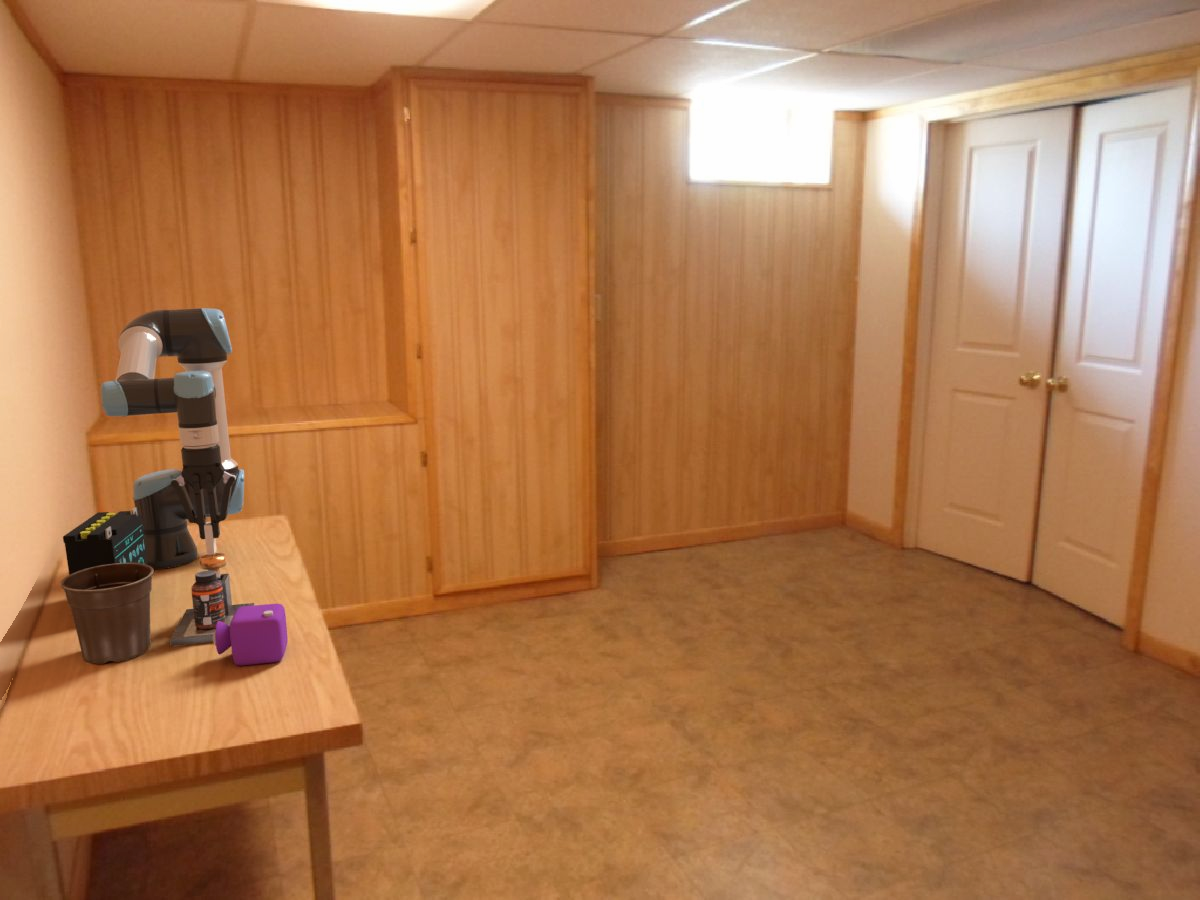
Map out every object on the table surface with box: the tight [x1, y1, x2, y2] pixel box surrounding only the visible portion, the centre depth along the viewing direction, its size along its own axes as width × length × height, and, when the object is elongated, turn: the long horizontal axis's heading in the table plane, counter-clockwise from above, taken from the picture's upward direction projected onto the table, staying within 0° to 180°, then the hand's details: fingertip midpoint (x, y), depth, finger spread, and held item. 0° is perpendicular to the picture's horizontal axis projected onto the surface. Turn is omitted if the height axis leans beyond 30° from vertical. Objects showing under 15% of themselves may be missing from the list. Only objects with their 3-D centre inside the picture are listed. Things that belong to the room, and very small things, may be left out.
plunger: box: [199, 552, 227, 580], centre depth 198 cm, size 5×5×7 cm
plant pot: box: [60, 563, 155, 665], centre depth 182 cm, size 16×16×16 cm
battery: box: [62, 506, 147, 576], centre depth 208 cm, size 19×10×20 cm, turn 8°
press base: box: [169, 573, 255, 647], centre depth 194 cm, size 17×14×9 cm
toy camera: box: [212, 603, 289, 666], centre depth 179 cm, size 11×14×10 cm
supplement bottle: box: [190, 570, 225, 629], centre depth 191 cm, size 6×6×11 cm
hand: (211, 552), depth 197 cm, fingers closed
